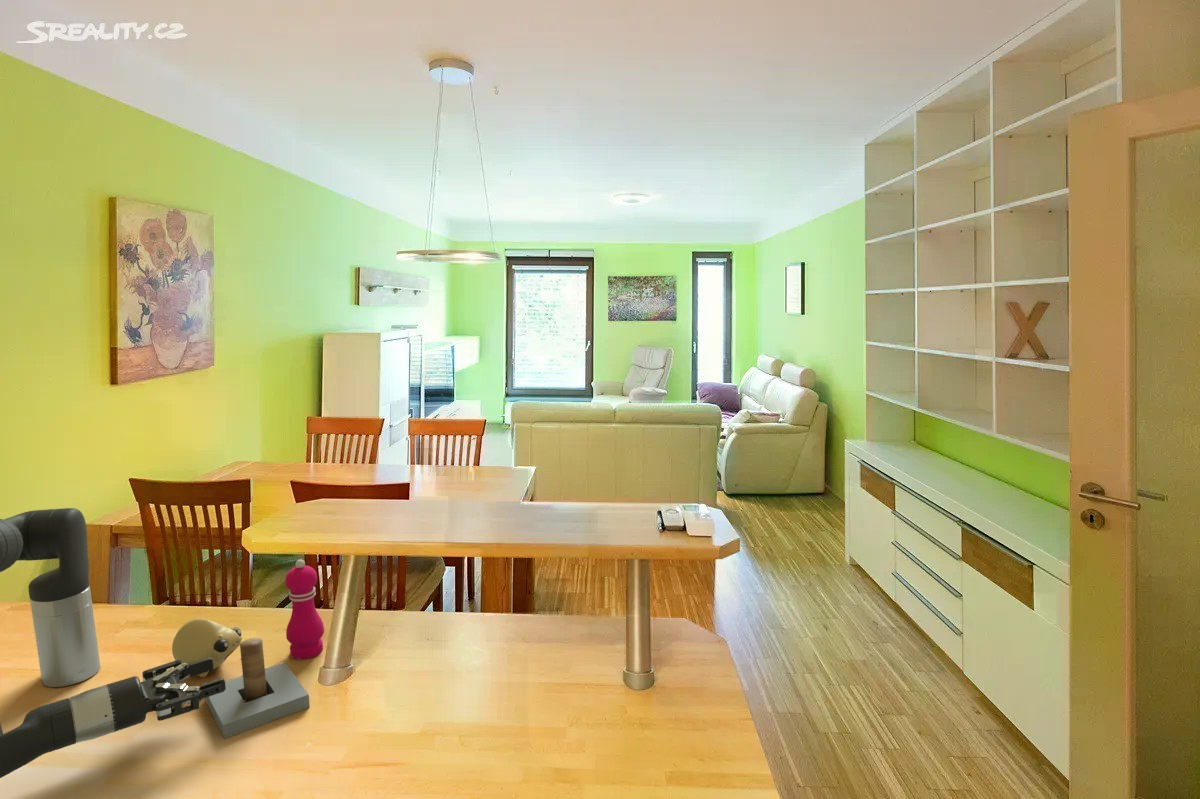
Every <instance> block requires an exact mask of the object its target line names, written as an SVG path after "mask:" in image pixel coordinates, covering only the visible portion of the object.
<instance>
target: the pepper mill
mask: <svg viewBox="0 0 1200 799" xmlns="http://www.w3.org/2000/svg"><path fill="white" fill-rule="evenodd" d="M317 581H318V574H317V572H316V570H315V569H314V568H313V567H312V566H310V565H306V562H305V560H303V559H297V560H296V561H295V566H294V567H292V568H291V569H289V570H288V572H287V573H286V575H285V578H284V583H285V587H286V588H287V589H288V590H289V592H288V596H289V597H288V598H289V600H290V601H291V604H292V605H291V606H292V609H291V610H292V612H291V616H290V618H289V621H288V623H287V627H286V633H285V634H286V636H285V637H286V640H287V641H288V642H289V643H290V645H289V654H290V657H291V658H294V659H296V660H306V659H311V658H314V657H316V656H318V655H320V654H321V653H320V652H322V651H324V650H323V649H324V645H323V639H322V637H323V635H324V633H325V626H324V623H323V620H322V617H321V616H320V614H319V612H318V611H317V609H316V606H315V600H314V599H315V596H316V594H317V593H316V587H315V585H317Z"/></svg>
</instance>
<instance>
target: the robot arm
mask: <svg viewBox="0 0 1200 799" xmlns="http://www.w3.org/2000/svg"><path fill="white" fill-rule="evenodd" d="M88 549H89V548H88V530H87V523H86V519H85V516H84V514H83V512H82V511H81V510H80V509H79V508H76V507H65V508H64V507H63V508H49V509H37V510H36V509H35V510H29V511H24V512H21V513H18V514H16V515H13V516H11V517H8V518H4V519H3V518H0V573H2V572H4V571H6V570H7V569H9V568H11V567H12V566H13V565H14V564H15V563H16V562H17V561H19V562H20V561H26V562H27V561H44V560H56V559H58V564H59V565H58V567H57V568H55V569H52V570H51V569H50V570H49V571H47V572H44V573H42V574H40V575H38V576H37V577H34V578H33V579H32V580H31V581H30V582H29V584H28V586H27V587H28V588H27V589H28V596H29V603H30V610H31V615H32V621H33V622H32V623H33V629H34V635H35V637H34V638H35V643H36V644H35V645H36V648H37V655H38V656H37V657H38V663H39V664H38V665H39V670H40V678H41V683H42V685H44V687H49V688H61V687H62V688H63V687H68V686H72V685H75V684H79V683H80V682H84V681H86V680H88V679H90V678H91V677H93V676H94V675H96V674H97V673H98V672H99V671H100V669H101V661H100V653H99V645H98V637H97V632H96V631H97V630H96V623H95V615H94V607H93V601H92V593H91V584H90V560H89V550H88ZM213 670H214V669H213V660H212V659H211V658H206V659H203V660H200V661H197V662H193V663H190V664H187V663H181V660H176V661H175V660H173V661H169V662H167V663H164V664H160V665H158V666H155V667H151V668H148V669H145V670H143V671H142V672H141V673H142V681H141V680H140V677H138V676H136V675H133V676H130V677H126V678H124V679H120V680H118V681H117V680H116V681H114V682H111V683H107V684H104V685H101V686H97V687H94V688H91V689H87V690H84V691H83V692H80V693H77V694H75V695H72V696H70V697H67V698H64V699H59V700H57V701H53V702H51V703H48V704H44V705H41V706H37V707H35V708H34V709H31V710H30V711H28V712H27V713H26V715H25V716H24V718H23V721H22V723H21V724H20V725H19V726H17V727H15V728H13V729H11V730H9V731H6V732H4V730H3V727H2V725H1V723H0V779H1V778H3V777H5V776H7V775H9V774H11V773H13V772H15V771H16V770H18V769H20V768H22V767H24V766H26V765H27V764H30V763H31V762H33V761H34V760H36V759H38V758H39V757H42V756H43V755H45V754H47V753H48V754H49V753H52V752H55V751H58V750H61V749H63V748H64V749H65V748H66V747H69V746H70V747H71V746H73V745H75V744H78V743H82V742H86V741H91V740H94V739H98V738H101V737H104V736H107V735H110V734H113V733H116V732H120V731H122V730H125V729H128V728H131V727H134V726H136V725H139V724H143V723H144V722H145V721H146V718H147V714H149V713H152V712H156V719H157V721H159V722H160V721H164V720H168V719H171V718H175V717H177V716H181V715H184V714H186V713H189V712H193V711H196V710H198V709H200V703H201V702H202V700H203V699H205V698H206V697H209V696H212V695H215V694H218V693H221V692H224V691H225V689H226V686H225V681H226V680H225V679H224V678H223V677H222V678H217V679H214V680H211V681H209V682H205V683H202V684H200V685H198V686H197V685H193V686H188V685H187V684H186V683H182V682H183V681H185V680H186V679H188V678H192V677H195V676H199V674H202V673H205V672H208V673H209V672H210V671H213Z"/></svg>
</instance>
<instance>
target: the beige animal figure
mask: <svg viewBox="0 0 1200 799" xmlns="http://www.w3.org/2000/svg"><path fill="white" fill-rule="evenodd" d="M242 638H243V637H242V630H241V629H240V628H239V627H236V626H235V627H227V626H225V625H223V624H220V623H218V622H216V621H213V620H211V619H210V620H209V619H207V618H201V617H194V618H192V619H190V620H188V621H186V622H185V623H184V624H183V625H182V626H181V627H180V628H179V629H178V631H177V633H176V634H175V636H174V638H173V641H172V646H171V650H172V651H171V652H172V656H173V659H174V661H176V660H181V663H187V664H190V663H193V662H197V661H200V660H203V659H206V658H211V659H212V660H213V670H216V669H217V668H219V667H220V666H221V665H222V664H223V663H224V662H225V661H226V660H228V657H230V655H232V653H234V651H235V650H237V649H238V647H239V648H240V644H241V643H242ZM208 673H209V671H208V672H205V673H202V674H199V675H198V676H199V677H200V678H206V677H207V676H208Z"/></svg>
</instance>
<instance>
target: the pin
mask: <svg viewBox="0 0 1200 799" xmlns="http://www.w3.org/2000/svg"><path fill="white" fill-rule="evenodd" d="M239 649H240V650H239V651H240V660H241V669H242V670H241V672H242V676H243V682H244V692H245V701H244V702H245V703H246V702H249V701H252V700H255V699H258V698H260V697H263V696H266V695H268V693H267V687H266V676H265V666H266V665H265V655H264V646H263V639H261V638H259V637H252V638H248V639H245V640H243V641H241V643H240V645H239Z"/></svg>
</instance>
